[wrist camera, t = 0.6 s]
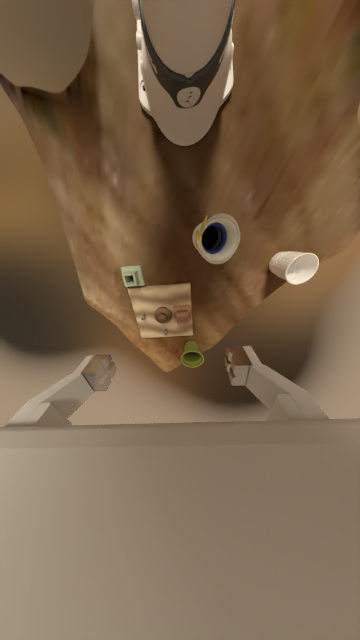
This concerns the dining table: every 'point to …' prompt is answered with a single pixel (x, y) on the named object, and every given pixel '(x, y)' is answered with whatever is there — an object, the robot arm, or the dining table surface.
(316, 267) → the white cup
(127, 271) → the pale green pipe fitting
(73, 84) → the dining table surface
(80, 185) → the dining table surface
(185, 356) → the plant pot
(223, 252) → the water bottle
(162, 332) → the plate
